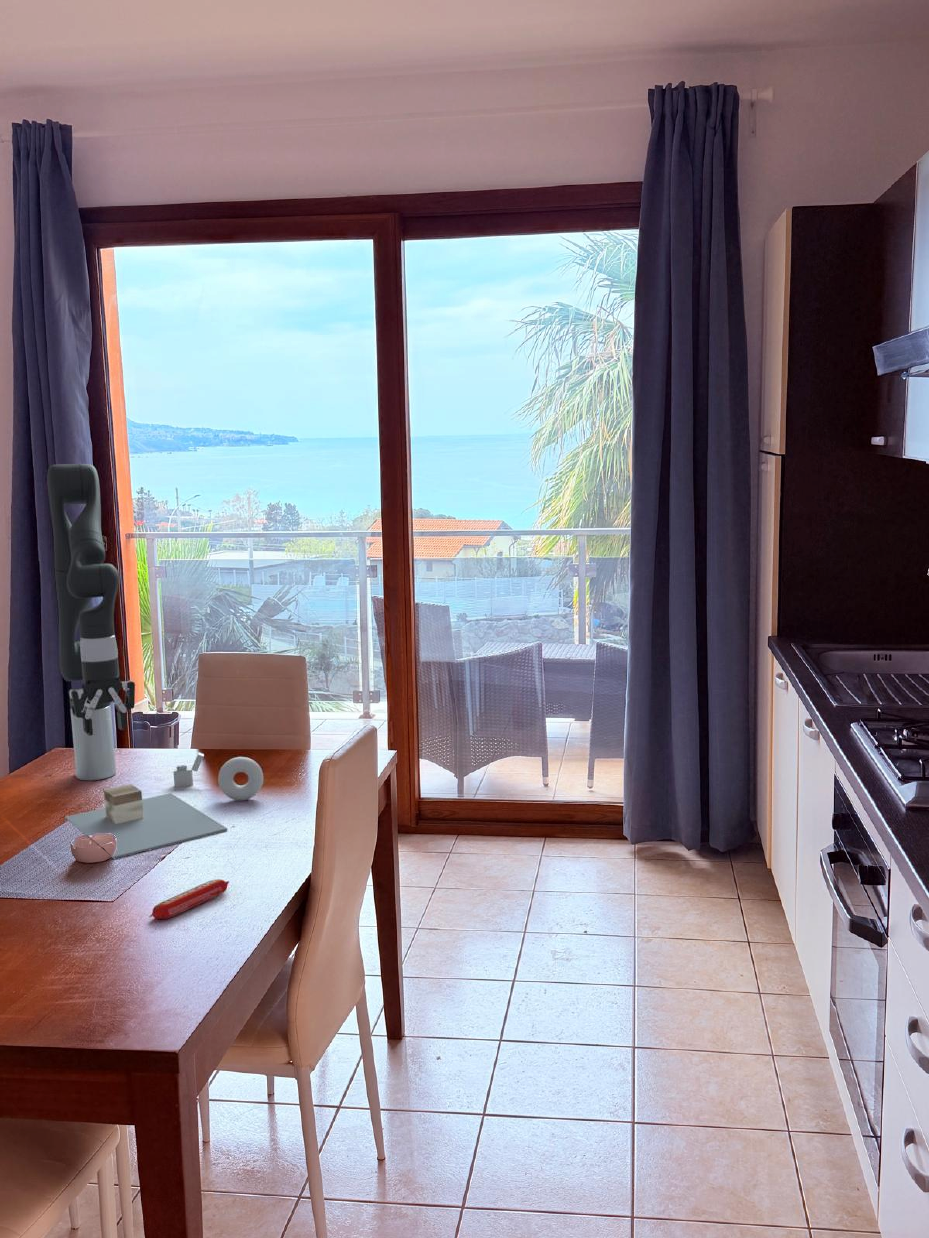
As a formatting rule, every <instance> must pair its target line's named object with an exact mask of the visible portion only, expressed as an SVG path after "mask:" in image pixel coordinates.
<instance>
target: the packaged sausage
mask: <svg viewBox="0 0 929 1238" xmlns="http://www.w3.org/2000/svg"><path fill="white" fill-rule="evenodd" d="M229 883H230V881H229V880H227V881H225V880H224V879H212V880H208V881H206V882H203V883H202V884H200V885H196V886H195V887H193V888H190V889H187V890H185V891H184V892H182V893H179V894H177V895H174V896H173V897H170V898H168V899H165V900H163V901H162V902H159V903H158V904H156V905H155V906H153V909H152V913H151V914H150V915H149V918H151V917H153V918H154V919H155V920H164V919H165V920H166V919H168V918H172V917H175V916H176V915H179V914H181V913H183V912H185V911H187V910H190V909H192V908H194V907H196V906H198V905H201V904H203V903H205V902H206V901H210V900H211V899H213V898H215V897H218V896H219V895H222V894H223V893H224V892H226V891H227V889H228V885H229Z"/></svg>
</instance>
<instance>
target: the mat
mask: <svg viewBox="0 0 929 1238" xmlns="http://www.w3.org/2000/svg"><path fill="white" fill-rule="evenodd" d="M142 805H143V818H140V819H136V820H132V821H127V822H123V823H119V824H115V823H114V822H112V821H111V820H110V819H108V818H107V817H106V810H105V807H102V808H98V809H94V810H90V811H85V812H81V813H77V814H76V813H75V814H72V815H67V816H64V818H65V819H66V820H67V821H68V822H69V823H71V824H72V825H73V826H75V827H76V828H77V829H78V830H79V831H80V832H82V834H84V836H87V835H94V834H96V833H111V834H113V835H115V836H116V838H117V850H116V852H115V854H114V855H113V859H112V860H116V858H117V859H120V858H119V857H121V858H125V857H128V856H127V855H129V856H132V854H133V855H136V854H135V853H137V854H139V853H138V852H141V853H143V852H142V851H145V852H147V851H146V850H149V849H153V850H156V849H160V848H164V847H167V846H166V845H168V846H172V845H176V844H180V843H183V842H188V841H191V840H195V839H201V838H204V837H208V836H211V835H215V834H219V833H224V832H227V831H228V828H227V827H226V826H224V825H222V824H221V823H219V822H218V821H217V820H214V819H213V818H211V817H210V816H208V815H206V814H205V813H204V812H203V811H200V810H198V809H197V808H195V807H194V806H192V805H191V804H189V803H187V802H186V801H184V800H183V799H181V798H179V797H177V795H174V794H173V793H171V792H170V793H166V794H161V795H156V796H152V797H148V798H142ZM179 842H180V843H179ZM163 846H164V847H163ZM149 851H150V850H149ZM124 856H125V857H124ZM114 858H115V859H114Z"/></svg>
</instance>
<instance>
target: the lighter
mask: <svg viewBox="0 0 929 1238" xmlns="http://www.w3.org/2000/svg"><path fill="white" fill-rule="evenodd" d="M204 756H205V754H204V753H202V752H198V753H197V755H196V758H195V760H194V763H193V765H192V767H188V765H187V764H179V765H177V766H176V768H175V769H173V771H172V772H173V782H174V783H173V785H174V786H173V787H174V788H180V787H194V777H193V772H198V770H199V768H200V766H201V764H202V761H203V758H204Z"/></svg>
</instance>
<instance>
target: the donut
mask: <svg viewBox="0 0 929 1238" xmlns="http://www.w3.org/2000/svg"><path fill="white" fill-rule="evenodd" d="M237 773H244V774H246V775H247V778H248V780H247V782H246V783H245V784H243V785H239V784H237V783H236V782H235V780H234V777H235V775H236V774H237ZM217 782H218V787H219V788H220V790H221V792H222V794H224V795H225V796H226V797H227V798H229V799H231V800H234V801H241V802H242V801H247V800H250V799H252V798H254V797H255V796H256V795H257V794H258V793H259V792H260V791H261V788H262V786H263V785H264V773H263V770H262V768H261V766H260V765H259V764H258V763H257V762H256V761H255V760H254V759H251V758H249V757H246V756H245V757H244V756H237V757H233V758H232V757H231V759H229V760H228V761H226V762H225V763H224V764H223V765H222V766H221V767H220V770H219V772H218V779H217Z"/></svg>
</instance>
